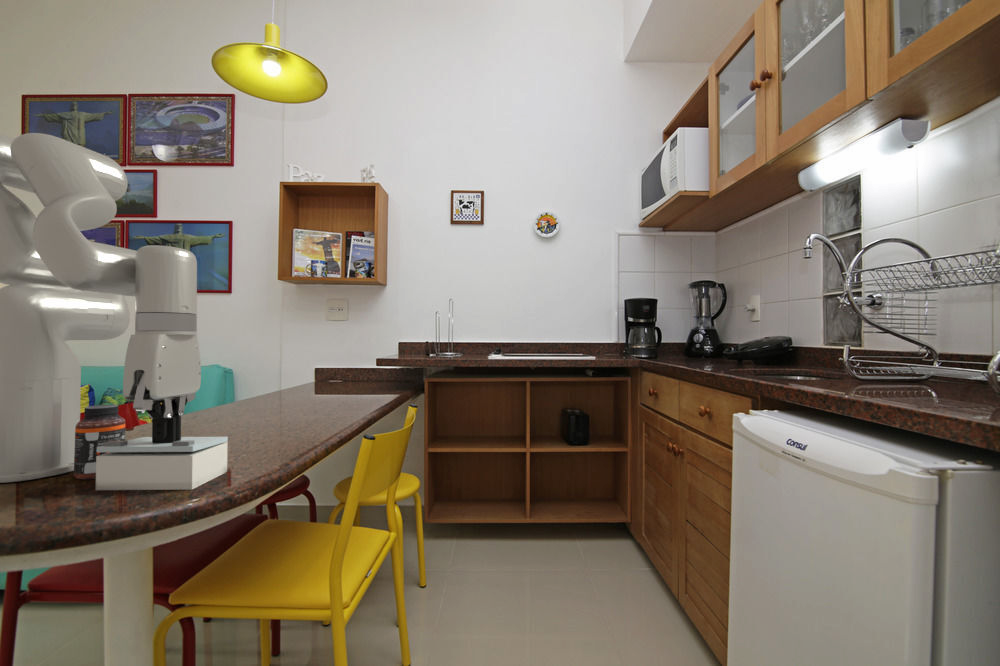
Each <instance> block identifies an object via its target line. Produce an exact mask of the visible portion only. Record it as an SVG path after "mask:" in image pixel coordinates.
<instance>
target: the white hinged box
mask: <svg viewBox="0 0 1000 666" xmlns="http://www.w3.org/2000/svg"><path fill="white" fill-rule="evenodd" d="M228 444H229V442H228V441H227V442H224V443H221V444H217V445H214V446H210V447H207V448H204V449H200V450H197V451H193V452H109V453H106V454H102V455H99V456H96V479H95V491H143V490H144V491H145V490H146V491H157V490H158V491H159V490H160V491H163V490H166V491H168V490H169V491H170V490H171V491H172V490H175V491H176V490H177V491H178V490H185V491H187V490H194V489H196V488H198V487H200V486H202V485H204V484H205V483H208V482H210V481H212V480H214V479H216V478H217V477H219V476H221V475H224V474H225V473H227V472H228Z"/></svg>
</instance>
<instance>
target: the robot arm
mask: <svg viewBox="0 0 1000 666" xmlns="http://www.w3.org/2000/svg"><path fill="white" fill-rule="evenodd" d="M128 183H129V182H128V177H127V175H126V172H125V170H124V169H123V167H122V166H121V165H120V164H119V163H118V162H116V161H115V160H114V159H112V158H111V157H109V156H107V155H104V154H102V153H99V152H97V151H94V150H92V149H89V148H87V147H84V146H82V145H79V144H76V143H74V142H71V141H69V140H67V139H64V138H61V137H58V136H55V135H51V134H46V133H41V132H30V133H23V134H20V135H18V136H17V137H15V138H13V137H10V136H8V135H5V134H2V133H0V284H4V285H6V286H3V287H0V484H3V483H4V484H5V483H6V484H7V483H15V482H23V481H24V482H25V481H31V480H37V479H43V478H47V477H48V478H49V477H53V476H57V475H63V474H66V473H71V472H74V453H75V452H74V451H75V427H76V424H77V423H78V422H80V421H81V395H82V394H81V392H82V391H81V389H82V388H81V387H82V386H81V385H82V384H81V383H82V382H81V381H82V380H81V379H82V378H81V377H82V367H81V363H80V359H79V358H78V357H77V355H76V353H75V352H74V351H73V350H72V349H71V347H70V346H69V344H67V342H69V341H105V340H112V339H115V338H118V337H120V336H122V335H124V334H125V332H126V331H127V329H128V328H129V325H130V320H131V315H130V309H129V305H128V303H127V301H126V297H134V299H135V300H134V306H135V309H134V313H135V314H134V317H135V318H134V320H135V321H134V322H135V323H134V334H131V335H130V338H129V340H128V343H127V349H126V353H125V358H124V359H125V361H124V366H123V367H124V368H123V380H122V395H123V398H124V399H125V400H128V401H133V404H132V408H133V410H137V411H145V412H146V413H147V415H148V418H149V419H151V424H152V425H151V429H152V430H151V437H152V443H172V442H175V441H180V440H181V437H182V416H183V415H184V413H185V409H186V408H185V407H186V405H187V404H189V402H192V401H193V400H195V398H196V393H197V392H198V391H199V390H200V388H201V383H202V382H201V381H202V365H201V354H200V353H201V352H200V346H199V340H198V335H197V334H198V332H197V331H198V327H197V326H198V324H197V323H198V315H197V314H198V312H197V311H198V304H197V303H198V293H197V292H198V289H197V288H198V260H197V257H196V255H195V254H194V253H193V252H192V251H190V250H188V249H185V248H180V247H175V246H171V245H170V246H169V245H159V244H158V245H155V244H154V245H153V244H152V245H144V246H141V247H139V248H138V249H137V250H136V249H135V250H134V249H130V248H126V247H120V246H116V245H111V244H107V243H101V242H97V241H96V242H95V241H90V240H89V239H88V238H87V237H86V236H84V234H83V233H82V232H83V231H89V230H94V229H98V228H101V227H103V226H105V225H106V224H109V223H110V222H111V221H113V220H114V218H115V216H116V215H117V210H118V209H117V208H118V207H117V203H116V202H117V201H118V200H120V199H121V198H122V197H124V196H125V194H126V192H127V189H128ZM5 186H6V187H9V188H13V189H18V190H22V191H25V192H29V193H33V194H35V195H36V197H37V198H38V200H39V202H40V203H41V204H42V206H43V207H44V208H43V209H42V210H41V211H39V213H38V215H37V217H36V214H34V212H33V210H32V209H30V207H29V206H28V205H27V204H26V203H25V202H24V201H23V200H21V199H20V197H18V196H16V195H15V194H14V193H12V192H11V191H10V190H9V189H8V188H6V187H5ZM66 341H67V342H66Z"/></svg>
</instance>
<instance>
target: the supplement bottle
mask: <svg viewBox="0 0 1000 666" xmlns="http://www.w3.org/2000/svg"><path fill="white" fill-rule="evenodd" d="M83 413H84V414H83V415H84V417H83V418H82V419H80V422H78V423H77V424H76V427H75V451H74V452H75V453H74V471H73V477H74V478H75V479H77V480H96V456H99V455H102V454H106V453H109V452H97V447H98V446H103V445H104V442H108V441H126V420H125V418H123V417H122V416H121V415H119V413H120V412H119V405H118V404H99V405H98V404H97V405H90V406H89V405H88V406H86V407H84V412H83Z"/></svg>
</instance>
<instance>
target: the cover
mask: <svg viewBox="0 0 1000 666" xmlns="http://www.w3.org/2000/svg"><path fill="white" fill-rule="evenodd" d="M228 438H229V436H181V440H180V441H175V442H172V443H152V436H142V437H137V438H132V439H127V440H125V441H108V442H104V445H103V446H98V447H97V452H193V451H197V450H200V449H204V448H207V447H210V446H214V445H217V444H221V443H224V442H228V440H229V439H228Z"/></svg>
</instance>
